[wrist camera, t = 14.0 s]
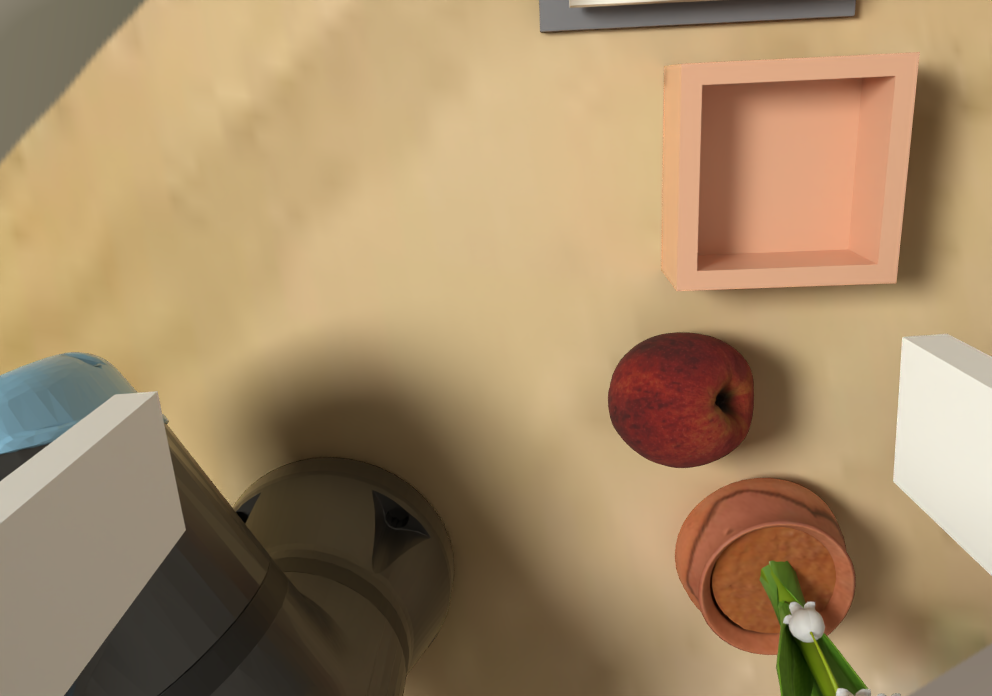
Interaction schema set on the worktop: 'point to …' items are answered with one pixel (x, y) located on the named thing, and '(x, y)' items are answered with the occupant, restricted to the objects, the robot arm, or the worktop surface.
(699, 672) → the worktop surface
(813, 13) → the mat
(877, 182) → the dish
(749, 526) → the potted flower
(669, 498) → the worktop surface
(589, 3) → the lid
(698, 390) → the apple
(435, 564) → the robot arm
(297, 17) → the worktop surface
